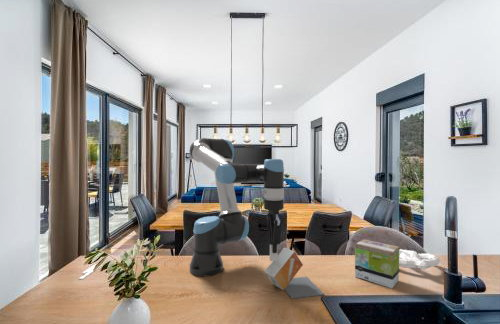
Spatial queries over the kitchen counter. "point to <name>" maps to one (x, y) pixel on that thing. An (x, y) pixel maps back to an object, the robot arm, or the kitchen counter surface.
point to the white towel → (417, 259)
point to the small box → (284, 268)
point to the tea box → (377, 262)
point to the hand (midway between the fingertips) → (273, 260)
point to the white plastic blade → (88, 271)
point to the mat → (302, 288)
